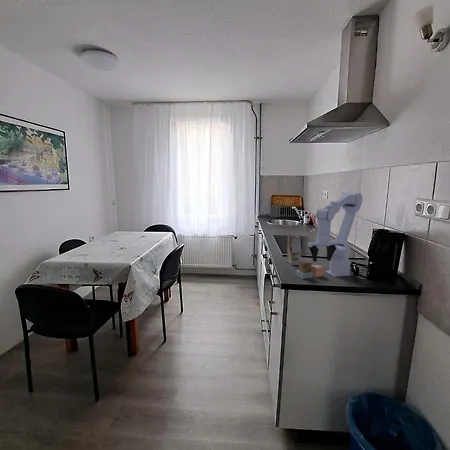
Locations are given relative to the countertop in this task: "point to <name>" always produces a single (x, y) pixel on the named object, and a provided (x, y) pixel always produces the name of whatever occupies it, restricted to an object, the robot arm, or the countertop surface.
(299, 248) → the coffee box
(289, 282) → the countertop surface
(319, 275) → the terracotta block
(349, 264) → the robot arm
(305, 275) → the plinth block
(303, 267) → the walnut block
